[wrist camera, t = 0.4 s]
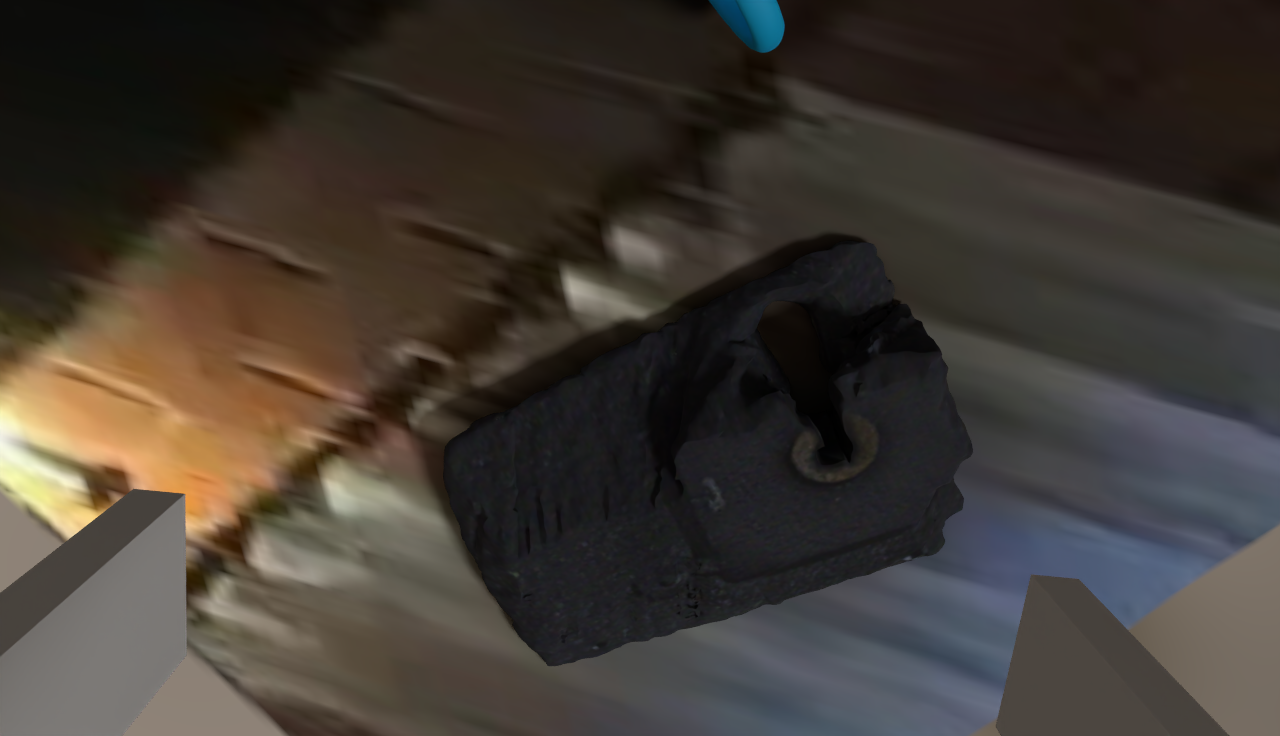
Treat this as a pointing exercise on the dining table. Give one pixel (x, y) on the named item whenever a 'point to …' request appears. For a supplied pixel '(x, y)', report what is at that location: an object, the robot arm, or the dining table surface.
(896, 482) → the black fabric pouch
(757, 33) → the mug
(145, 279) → the dining table surface
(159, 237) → the dining table surface
